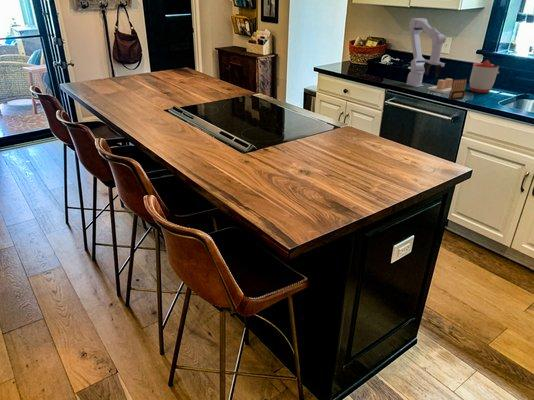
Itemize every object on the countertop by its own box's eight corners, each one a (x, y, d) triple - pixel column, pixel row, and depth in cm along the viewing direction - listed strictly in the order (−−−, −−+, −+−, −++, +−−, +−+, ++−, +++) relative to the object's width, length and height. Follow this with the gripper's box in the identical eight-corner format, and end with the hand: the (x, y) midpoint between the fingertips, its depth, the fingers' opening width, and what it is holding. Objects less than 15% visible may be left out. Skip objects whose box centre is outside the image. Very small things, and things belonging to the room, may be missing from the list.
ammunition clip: (461, 97, 264) (465, 78, 258) (463, 98, 262) (468, 79, 257) (448, 99, 260) (452, 79, 254) (450, 100, 259) (454, 80, 253)
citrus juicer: (499, 94, 275) (508, 62, 266) (473, 93, 274) (482, 62, 265) (486, 88, 289) (494, 58, 280) (462, 88, 288) (469, 57, 279)
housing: (427, 89, 282) (430, 78, 279) (441, 87, 289) (443, 76, 286) (444, 93, 272) (446, 82, 269) (457, 91, 279) (460, 80, 276)
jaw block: (436, 90, 280) (438, 80, 276) (439, 90, 281) (441, 79, 278) (440, 91, 277) (442, 81, 274) (443, 91, 279) (446, 80, 276)
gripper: (422, 53, 272) (418, 74, 279) (441, 56, 262) (436, 78, 268) (429, 52, 276) (425, 73, 282) (448, 55, 265) (443, 77, 271)
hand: (431, 76), depth 275 cm, fingers open, 7 cm apart
